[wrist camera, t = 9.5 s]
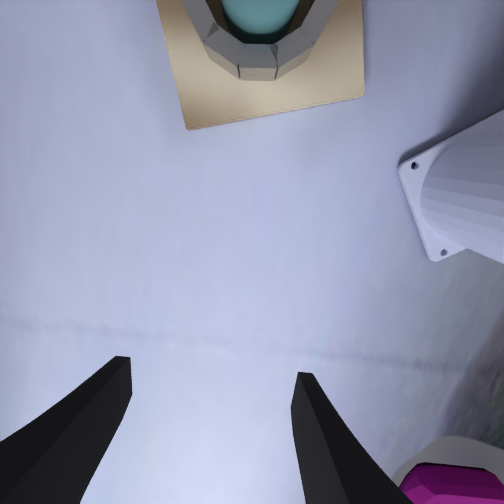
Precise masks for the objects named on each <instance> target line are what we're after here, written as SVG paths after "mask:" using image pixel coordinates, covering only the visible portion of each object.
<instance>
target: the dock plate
mask: <svg viewBox="0 0 504 504" xmlns="http://www.w3.org/2000/svg"><path fill="white" fill-rule="evenodd" d="M156 2H157V6H158V10H159V15H160V19H161V23H162V27H163V32H164V36H165V40H166V45H167V49H168V53H169V57H170V62H171V66H172V70H173V74H174V79H175V83H176V87H177V92H178V96H179V100H180V104H181V109H182V113H183V117H184V122H185V126H186V129H187V130H195V129H201V128H206V127H211V126H216V125H221V124H226V123H232V122H237V121H242V120H247V119H252V118H258V117H263V116H268V115H273V114H278V113H283V112H289V111H294V110H299V109H304V108H309V107H314V106H320V105H325V104H330V103H335V102H340V101H346V100H351V99H356V98H359V97H361V96H363V95H365V87H364V53H363V19H362V0H339V3H338V5H337V7H336V8H335V10H334V12H333V14H332V15H331V17H330V19H329V21H328V22H327V24H326V26H325V28H324V30H323V31H322V33H321V35H320V37H319V38H318V40H317V42H316V44H315V45H314V47H313V49H312V51H311V52H310V54H309V56H308V58H307V59H306V61H305V62H304V63H302V64H301V65H299V66H298V67H296V68H294V69H293V70H291V71H290V72H288V73H286V74H285V75H283V76H282V77H280V78H278V79H277V80H275V79H274V81H246V80H241V78H240V80H239V79H237V78H236V77H235V76H233V75H232V74H230V73H229V72H227V71H226V70H224V69H223V68H222V67H220V66H219V65H217V64H216V63H214V62H213V61H211V59H210V58H209V56H208V54H207V52H206V51H205V49H204V47H203V45H202V43H201V41H200V39H199V37H198V35H197V33H196V31H195V29H194V27H193V25H192V23H191V21H190V19H189V17H188V15H187V12H186V10H185V8H184V6H183V4H182V2H181V0H156ZM208 4H209V9H210V11H211V13H212V15H213V17H214V19H215V21H216V23H217V25H218V26H220V27H221V28H222V29H224V30H225V31H226V32H228V33H229V34H231V32H230V31H229V29H228V27H227V25H226V22H225V19H224V15H223V10H222V4H221V0H208ZM309 4H310V0H299V3H298V7H297V10H296V13H295V16H294V19H293V22H292V25H291V27H290V29H289V31H288V32H287V34H286V35H285V36H284V37H286V36H287V35H289V34H290V33H292V32H293V31H295V30H296V29H298V28H299V27H301V25H302V23H303V22H304V20H305V18H306V16H307V14H308V12H309ZM231 35H232V34H231ZM232 36H233V35H232ZM233 37H234V36H233ZM284 37H283V38H284ZM283 38H282V39H283Z"/></svg>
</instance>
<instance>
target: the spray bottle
mask: <svg viewBox="0 0 504 504" xmlns="http://www.w3.org/2000/svg"><path fill="white" fill-rule="evenodd" d="M398 488H399V489H400V490H401V491H402V492H403V493H404V494H405V495H406V496H407V497H408V498H409V499H410V500H411V501H412V502H413V503H414V504H504V485H503V484H502V483H501V481H500V480H499V479H498V478H497V477H496V475H495V474H493V473H491V472H489V471H487V470H486V469H484V468H478V467H467V466H459V465H449V464H439V463H430V462H422V463H418V464H416V465H415V466H414V467H413V468H412V469H411V471H409V472H408V473H407V475H406V476H405V477H404V479H403V481H402V482H401V484H400V486H399V487H398Z"/></svg>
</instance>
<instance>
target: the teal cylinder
mask: <svg viewBox="0 0 504 504" xmlns="http://www.w3.org/2000/svg"><path fill="white" fill-rule="evenodd" d="M298 3H299V0H221V4H222V10H223V15H224V19H225V22H226V25H227V27H228V29H229V31H230V32H231V34H232V35H233V36H234V37H235V38H236V39H238V40H239V41H240V42H242V43H243V44H275V43H277V42H278V41H280V40H281V39H282V38H283V37H284V36H285V35H286V34H287V32H288V31H289V29H290V27H291V25H292V22H293V19H294V16H295V13H296V10H297V7H298Z"/></svg>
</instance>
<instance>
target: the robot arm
mask: <svg viewBox="0 0 504 504" xmlns="http://www.w3.org/2000/svg"><path fill="white" fill-rule="evenodd" d="M413 162H415V163H416V166H415V168H414V169H412V168H411V164H412V163H413ZM397 171H398V175H399V178H400V180H401V183H402V186H403V189H404V192H405V194H406V197H407V200H408V203H409V206H410V208H411V211H412V214H413V217H414V220H415V223H416V225H417V228H418V231H419V234H420V237H421V239H422V242H423V245H424V248H425V251H426V253H427V256H428V258H429V259H430V260H432V261H434V262H437V261H440V260H442V259H444V258H446V257H449V256H451V255H453V254H455V253H457V252H460V251H462V250H464V249H466V248H468V249H471V250H473V251H475V252H478V253H480V254H482V255H484V256H487V257H489V258H491V259H494V260H496V261H498V262H501V263H503V264H504V109H503V110H501V111H499V112H497V113H495V114H494V115H492V116H490V117H488V118H486V119H484V120H482V121H480V122H478V123H476V124H475V125H473V126H471V127H469V128H467V129H465V130H463V131H461V132H459V133H457V134H456V135H454V136H452V137H450V138H448V139H446V140H444V141H442V142H440V143H438V144H436V145H435V146H433V147H431V148H429V149H427V150H425V151H423V152H421V153H419V154H417V155H416V156H414V157H412V158H410V159H408V160H406V161H404V162H402V163H401V164H400V165H399V167H398V170H397ZM442 250H444V252H443V253H442V254H440V252H441V251H442ZM131 396H132V379H131V361H130V357H123V356H115V357H114V358H113V359H111V360H110V361H109V362H108V363H106V364H105V365H104V366H103V367H102V368H100V369H99V370H98V371H97V372H96V373H94V374H93V375H92V376H91V377H89V378H88V379H87V380H86V381H85V382H83V383H82V384H81V385H80V386H78V387H77V388H76V389H75V390H73V391H72V392H71V393H70V394H68V395H67V396H66V397H64V398H63V399H62V400H60V401H59V402H58V403H56V404H55V405H54V406H52V407H51V408H50V409H48V410H47V411H46V412H44V413H43V414H41V415H40V416H39V417H37V418H36V419H34V420H33V421H32V422H30V423H29V424H27V425H26V426H24V427H23V428H21V429H20V430H18V431H16V432H15V433H13V434H12V435H10V436H9V437H7V438H6V439H4V440H2V441H1V442H0V504H80V502H81V499H82V497H83V495H84V493H85V491H86V489H87V487H88V484H89V482H90V480H91V478H92V477H93V475H94V473H95V471H96V469H97V467H98V465H99V463H100V461H101V459H102V458H103V456H104V454H105V452H106V450H107V448H108V446H109V444H110V442H111V441H112V439H113V437H114V435H115V433H116V431H117V429H118V427H119V425H120V423H121V421H122V419H123V417H124V414H125V412H126V409H127V407H128V404H129V401H130V399H131ZM291 417H292V429H293V437H294V442H295V448H296V453H297V458H298V464H299V469H300V474H301V479H302V485H303V490H304V495H305V501H306V504H414V503H413V502H412V501H411V500H410V499H409V498H408V497H407V496H406V495H405V494H404V493H403V492H402V491H401V490H400V489H399V488H398V487H397V486H396V485H395V484H394V482H393V481H392V480H391V479H390V478H389V477H388V476H387V475H386V474H385V473H384V472H383V470H382V469H381V468H380V467H379V466H378V465H377V464H376V462H375V461H374V460H373V459H372V458H371V457H370V455H369V454H368V453H367V452H366V450H365V449H364V448H363V447H362V445H361V444H360V443H359V442H358V440H357V439H356V438H355V436H354V435H353V434H352V432H351V431H350V430H349V428H348V427H347V426H346V424H345V423H344V421H343V420H342V418H341V417H340V416H339V414H338V413H337V411H336V410H335V408H334V407H333V405H332V404H331V402H330V401H329V399H328V398H327V396H326V394H325V393H324V391H323V390H322V388H321V386H320V385H319V383H318V381H317V380H316V378H315V376H314V375H313V374H312V373H305V372H298V375H297V380H296V384H295V389H294V394H293V399H292V404H291Z"/></svg>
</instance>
